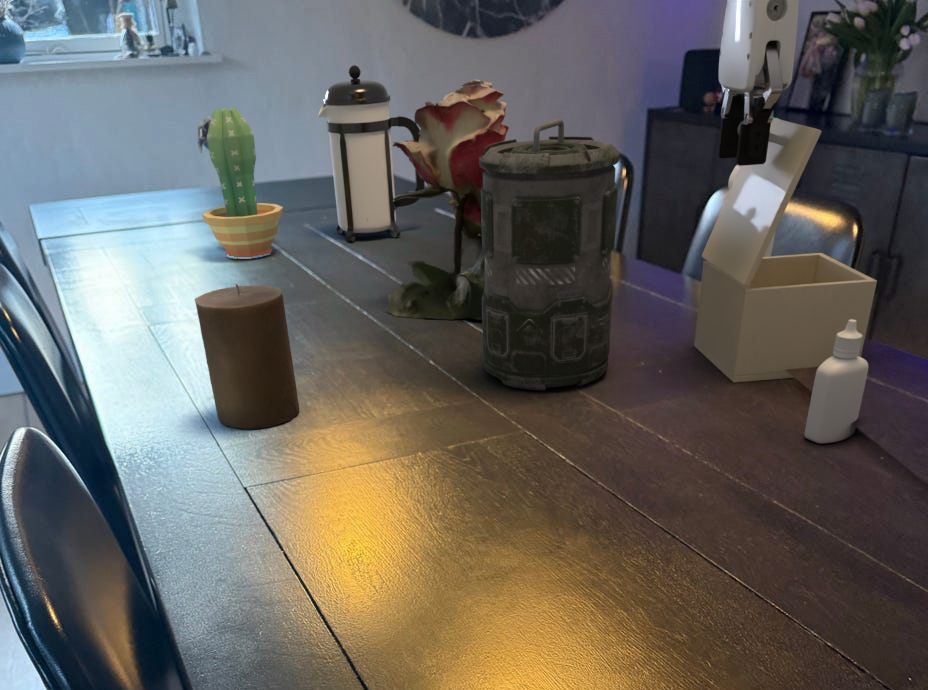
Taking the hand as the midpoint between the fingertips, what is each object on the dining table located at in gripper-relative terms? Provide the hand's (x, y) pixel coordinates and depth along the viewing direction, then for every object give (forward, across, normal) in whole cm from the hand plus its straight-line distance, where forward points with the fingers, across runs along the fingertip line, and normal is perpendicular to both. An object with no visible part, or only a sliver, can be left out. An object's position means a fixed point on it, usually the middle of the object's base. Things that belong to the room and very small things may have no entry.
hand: (741, 158), depth 105 cm
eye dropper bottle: (+24, -25, -3) cm, 34 cm away
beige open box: (+23, 0, -7) cm, 24 cm away
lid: (+4, 0, -3) cm, 5 cm away
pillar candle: (+23, -5, +58) cm, 63 cm away
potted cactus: (+23, +83, +65) cm, 108 cm away
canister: (+23, +2, +22) cm, 32 cm away
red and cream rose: (+23, +38, +24) cm, 51 cm away
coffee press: (+23, +94, +40) cm, 105 cm away
